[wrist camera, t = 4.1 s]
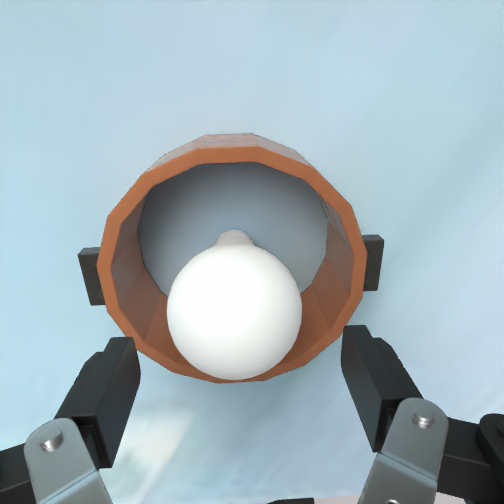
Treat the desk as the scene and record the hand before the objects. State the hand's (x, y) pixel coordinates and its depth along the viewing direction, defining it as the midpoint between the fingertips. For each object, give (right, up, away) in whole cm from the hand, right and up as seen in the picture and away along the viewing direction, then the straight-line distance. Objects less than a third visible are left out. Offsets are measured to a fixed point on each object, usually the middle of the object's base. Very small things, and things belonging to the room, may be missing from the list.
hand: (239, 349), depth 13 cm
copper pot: (-1, +4, +10) cm, 11 cm away
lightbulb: (-1, +4, +10) cm, 11 cm away
